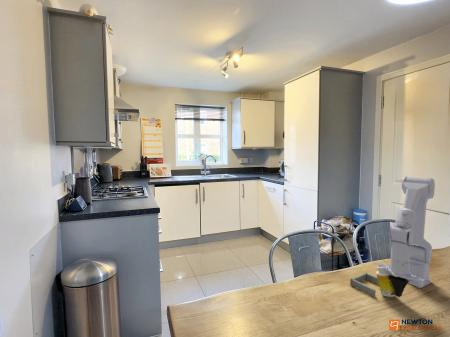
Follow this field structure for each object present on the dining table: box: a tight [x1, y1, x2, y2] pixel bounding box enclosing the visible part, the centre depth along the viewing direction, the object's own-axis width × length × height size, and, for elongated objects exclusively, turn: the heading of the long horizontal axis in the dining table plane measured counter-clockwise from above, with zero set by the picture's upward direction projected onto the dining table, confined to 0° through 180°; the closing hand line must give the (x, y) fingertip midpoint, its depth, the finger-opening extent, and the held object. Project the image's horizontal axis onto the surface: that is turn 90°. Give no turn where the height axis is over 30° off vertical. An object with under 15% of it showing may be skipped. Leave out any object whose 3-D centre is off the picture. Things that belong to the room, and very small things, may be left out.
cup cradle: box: [349, 272, 379, 298], centre depth 101 cm, size 11×10×2 cm
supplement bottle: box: [376, 265, 397, 298], centre depth 95 cm, size 6×6×10 cm
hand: (398, 295), depth 91 cm, fingers closed
